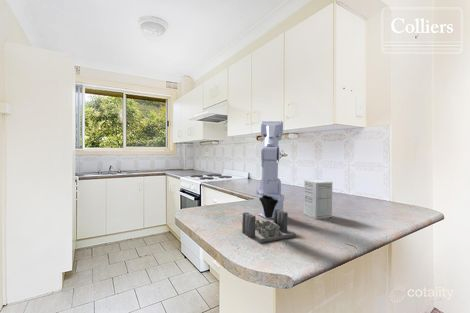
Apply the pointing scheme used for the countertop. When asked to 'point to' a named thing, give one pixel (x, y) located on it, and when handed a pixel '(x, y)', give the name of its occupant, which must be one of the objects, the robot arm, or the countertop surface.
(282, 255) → the countertop surface
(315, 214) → the supplement box
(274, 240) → the dark grey rod
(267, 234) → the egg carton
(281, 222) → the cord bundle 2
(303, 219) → the countertop surface
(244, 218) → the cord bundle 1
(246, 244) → the countertop surface
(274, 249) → the countertop surface
